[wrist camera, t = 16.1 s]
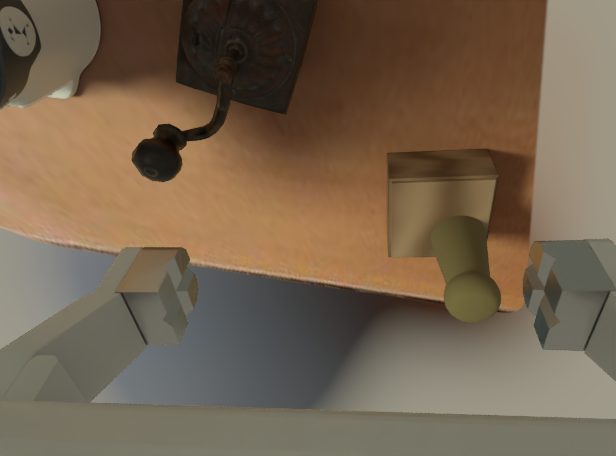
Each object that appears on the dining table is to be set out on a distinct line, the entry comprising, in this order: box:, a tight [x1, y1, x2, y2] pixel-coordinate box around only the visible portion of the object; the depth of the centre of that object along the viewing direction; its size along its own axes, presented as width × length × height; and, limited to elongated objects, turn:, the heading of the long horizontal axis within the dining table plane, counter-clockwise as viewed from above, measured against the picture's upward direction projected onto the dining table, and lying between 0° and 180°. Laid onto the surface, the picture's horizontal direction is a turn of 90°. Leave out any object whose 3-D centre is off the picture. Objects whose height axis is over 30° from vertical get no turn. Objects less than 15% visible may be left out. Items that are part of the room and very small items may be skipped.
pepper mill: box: [132, 0, 318, 182], centre depth 39 cm, size 16×11×18 cm
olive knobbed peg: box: [430, 216, 501, 323], centre depth 47 cm, size 6×6×11 cm
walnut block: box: [387, 149, 499, 258], centre depth 53 cm, size 11×11×6 cm
